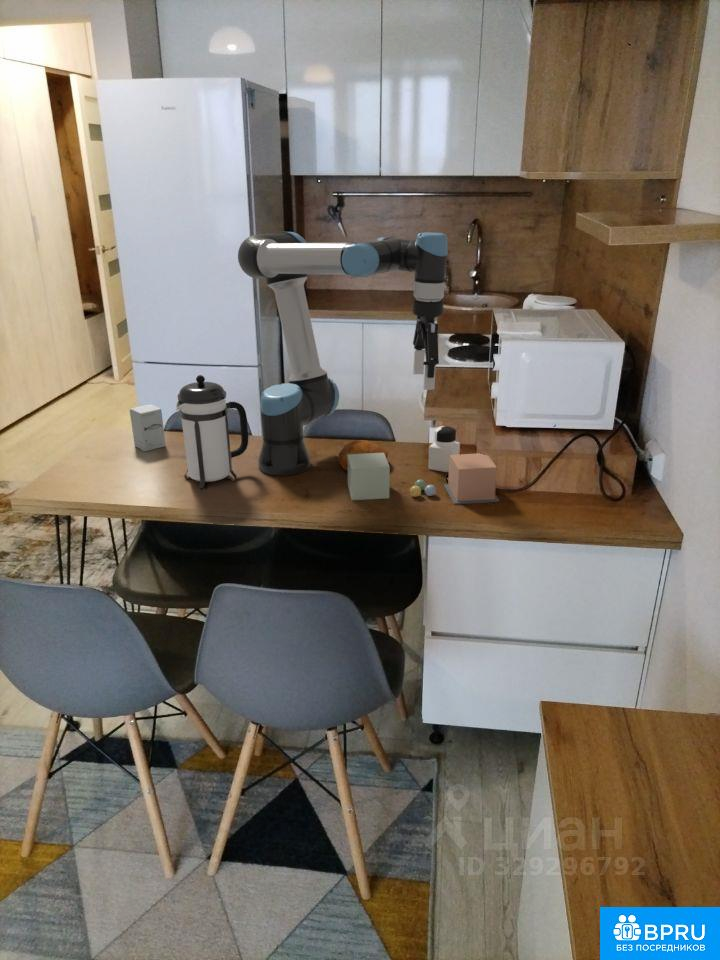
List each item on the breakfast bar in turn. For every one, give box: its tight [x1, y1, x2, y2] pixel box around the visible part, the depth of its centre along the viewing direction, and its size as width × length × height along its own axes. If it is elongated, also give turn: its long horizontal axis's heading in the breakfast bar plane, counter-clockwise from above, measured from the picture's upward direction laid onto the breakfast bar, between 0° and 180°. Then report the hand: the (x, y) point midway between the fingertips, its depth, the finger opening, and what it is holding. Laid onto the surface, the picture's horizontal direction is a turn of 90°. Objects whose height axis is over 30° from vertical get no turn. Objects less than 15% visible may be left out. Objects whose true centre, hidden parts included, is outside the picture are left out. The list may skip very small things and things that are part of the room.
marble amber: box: [409, 485, 422, 498], centre depth 183 cm, size 3×3×3 cm
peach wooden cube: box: [447, 452, 498, 501], centre depth 183 cm, size 10×10×9 cm
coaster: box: [443, 483, 500, 505], centre depth 185 cm, size 12×12×1 cm
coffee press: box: [174, 374, 249, 490], centre depth 190 cm, size 17×16×30 cm
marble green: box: [414, 478, 427, 491], centre depth 186 cm, size 3×3×3 cm
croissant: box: [338, 439, 389, 472], centre depth 203 cm, size 14×16×8 cm
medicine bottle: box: [428, 425, 461, 474], centre depth 199 cm, size 7×7×12 cm
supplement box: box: [129, 403, 167, 453], centre depth 216 cm, size 7×7×13 cm
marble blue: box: [424, 484, 437, 497], centre depth 183 cm, size 3×3×3 cm
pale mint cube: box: [347, 453, 391, 501], centre depth 185 cm, size 10×10×9 cm
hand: (423, 381), depth 181 cm, fingers open, 13 cm apart
